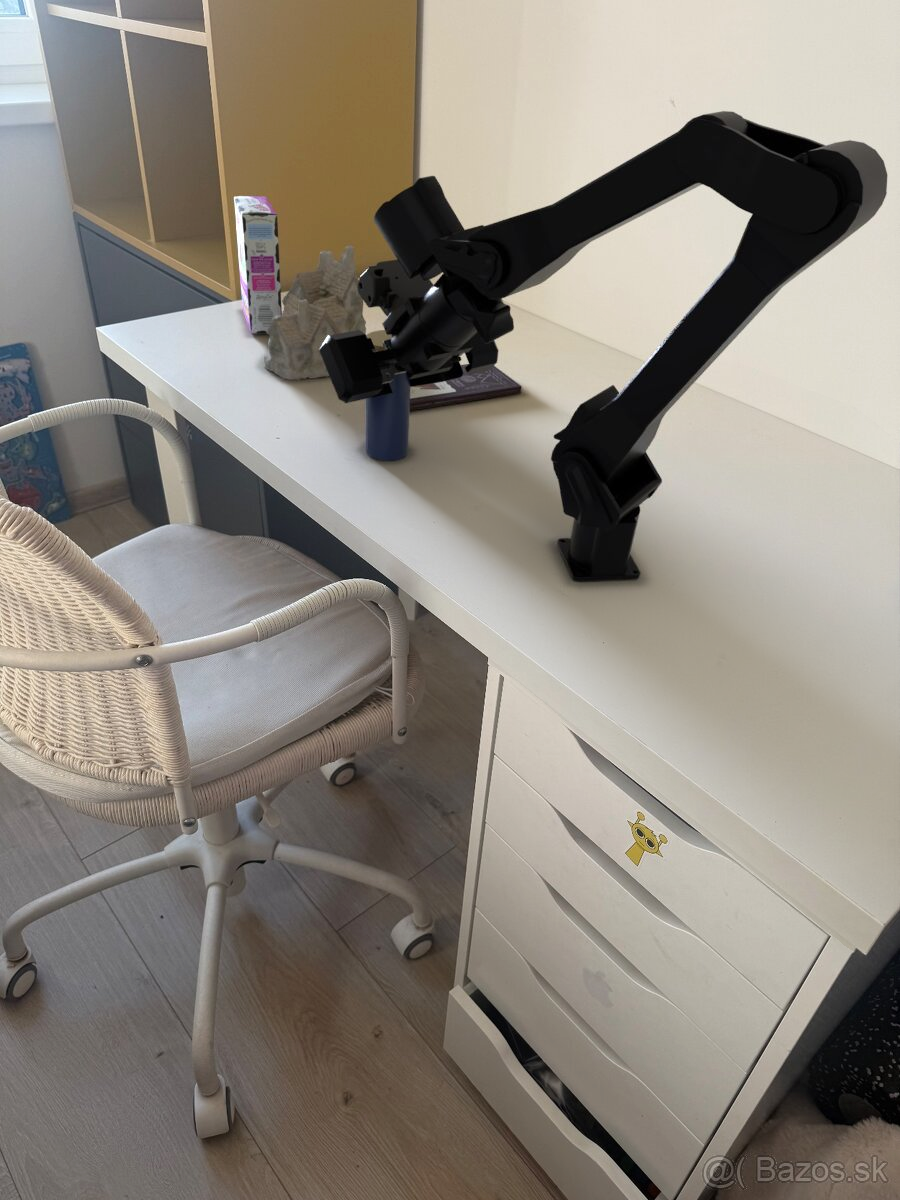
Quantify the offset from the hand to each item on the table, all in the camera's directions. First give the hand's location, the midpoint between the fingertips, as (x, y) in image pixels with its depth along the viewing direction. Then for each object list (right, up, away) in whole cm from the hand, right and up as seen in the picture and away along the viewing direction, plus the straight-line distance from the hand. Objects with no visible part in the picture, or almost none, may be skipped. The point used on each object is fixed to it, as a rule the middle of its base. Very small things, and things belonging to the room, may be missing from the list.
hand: (381, 388), depth 91 cm
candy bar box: (-21, +18, +34) cm, 44 cm away
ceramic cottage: (-12, +11, +25) cm, 30 cm away
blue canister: (0, -6, +3) cm, 7 cm away
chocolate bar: (+7, +4, +18) cm, 20 cm away
